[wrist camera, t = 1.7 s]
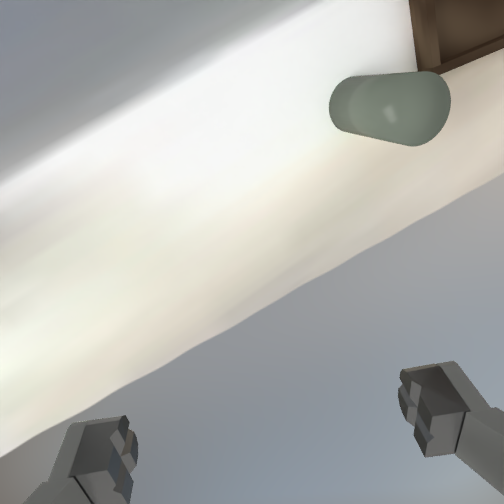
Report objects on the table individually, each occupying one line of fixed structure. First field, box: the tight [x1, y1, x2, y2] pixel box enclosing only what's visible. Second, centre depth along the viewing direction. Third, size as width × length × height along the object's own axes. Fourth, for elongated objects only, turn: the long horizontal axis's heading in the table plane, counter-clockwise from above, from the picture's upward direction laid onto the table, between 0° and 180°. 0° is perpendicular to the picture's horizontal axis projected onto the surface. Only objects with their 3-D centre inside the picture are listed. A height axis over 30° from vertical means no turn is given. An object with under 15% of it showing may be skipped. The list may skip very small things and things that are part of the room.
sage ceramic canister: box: [329, 71, 451, 146], centre depth 31 cm, size 5×5×10 cm
